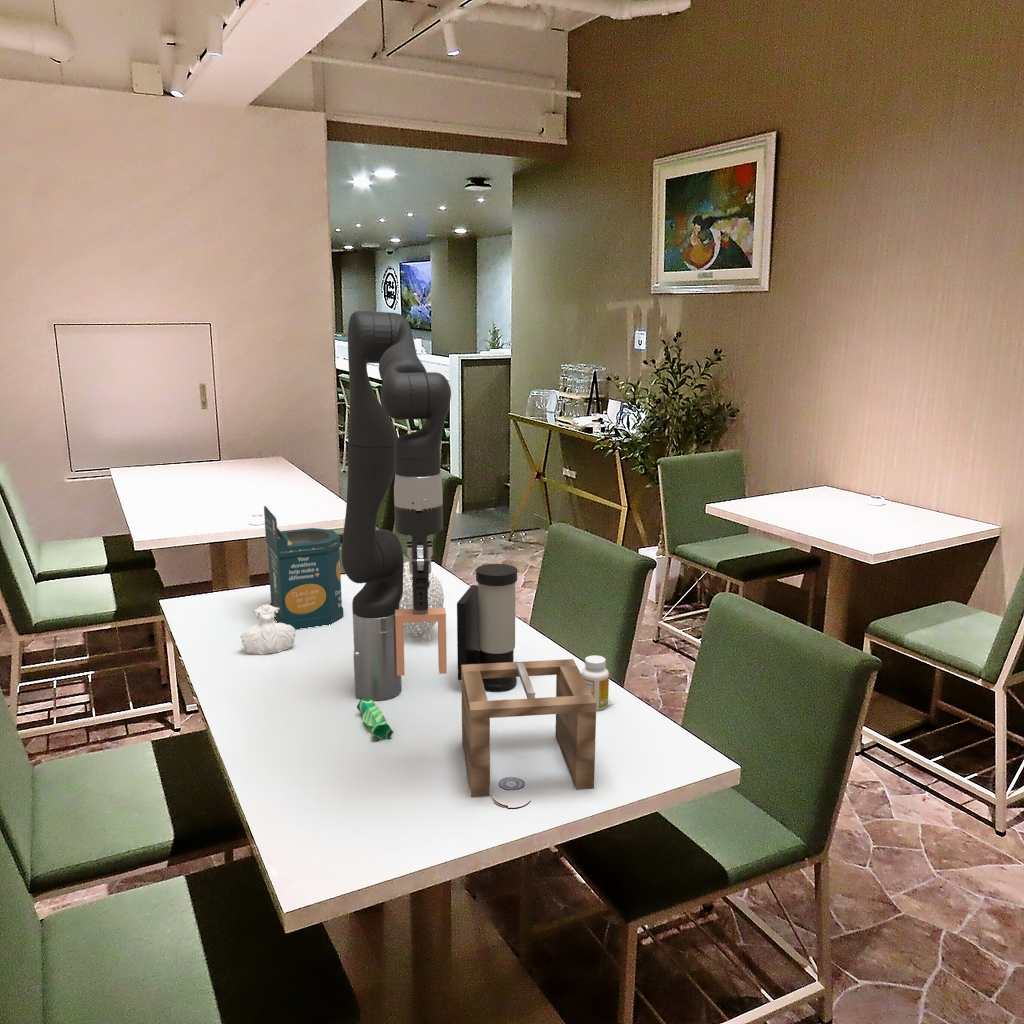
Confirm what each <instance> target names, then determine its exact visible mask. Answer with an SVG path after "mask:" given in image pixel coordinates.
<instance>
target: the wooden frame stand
mask: <svg viewBox="0 0 1024 1024" xmlns="http://www.w3.org/2000/svg"><path fill="white" fill-rule="evenodd" d="M537 676H538V677H540V676H542V677H543V676H556V683H555V684H556V686H555V696H549V697H536V692H535V689H534V686H533V684H532V681H531V678H530V677H537ZM506 677H516V678H519V679H520V682H521V684H522V688H523V690H524V693H525V696H526V698H517V699H516V698H515V699H513V698H511V699H499V700H497V699H496V700H488V697H487V693H486V692H487V691H485V688H484V684H483V680H482V679H487V678H506ZM460 682H461V745H462V749H463V756H464V757H463V758H464V762H465V768H466V769H465V770H466V774H467V780H468V785H469V791H470V792H469V793H470V797H471V798H479V797H489V796H491V724H490V723H491V720H490V719H493V718H494V719H495V718H511V717H514V718H515V717H527V716H528V717H529V716H546V715H555V735H554V736H555V737H554V738H555V739H556V742H557V745H558V747H559V750H560V752H561V756H562V757H563V760H564V762H565V765H566V767H567V771H568V773H569V776H570V778H571V781H572V783H573V785H574V788H575V790H577V791H579V790H589V789H595V774H596V773H595V771H596V770H595V769H596V767H595V766H596V735H597V734H596V731H597V711H596V701H595V699H594V697H593V696H592V694H591V692H590V690H589V688H588V686H587V684H586V682H585V680H584V679H583V677H582V675H581V671H580V669H579V667H578V665H577V663H576V662H575V660H574V659H573V658H571V659H570V658H568V659H549V660H529V661H514V662H507V663H488V664H468V665H461V680H460Z"/></svg>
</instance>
